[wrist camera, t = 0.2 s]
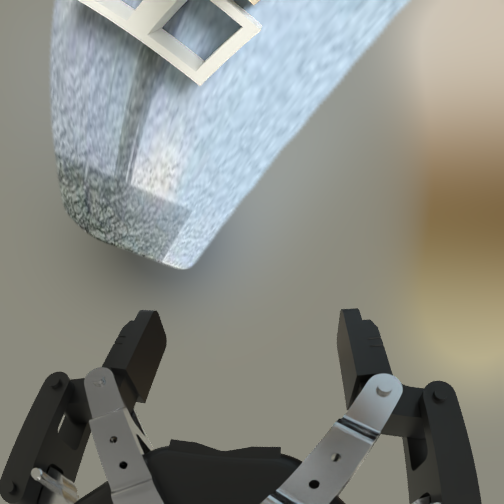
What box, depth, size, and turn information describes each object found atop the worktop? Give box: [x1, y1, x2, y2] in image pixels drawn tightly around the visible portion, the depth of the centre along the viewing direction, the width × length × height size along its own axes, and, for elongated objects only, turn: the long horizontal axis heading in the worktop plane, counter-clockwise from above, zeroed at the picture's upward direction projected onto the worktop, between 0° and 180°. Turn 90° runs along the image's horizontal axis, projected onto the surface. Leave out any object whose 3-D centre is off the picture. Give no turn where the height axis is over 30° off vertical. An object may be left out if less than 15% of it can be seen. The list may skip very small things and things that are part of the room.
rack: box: [78, 0, 262, 86], centre depth 23 cm, size 20×9×5 cm, turn 45°
